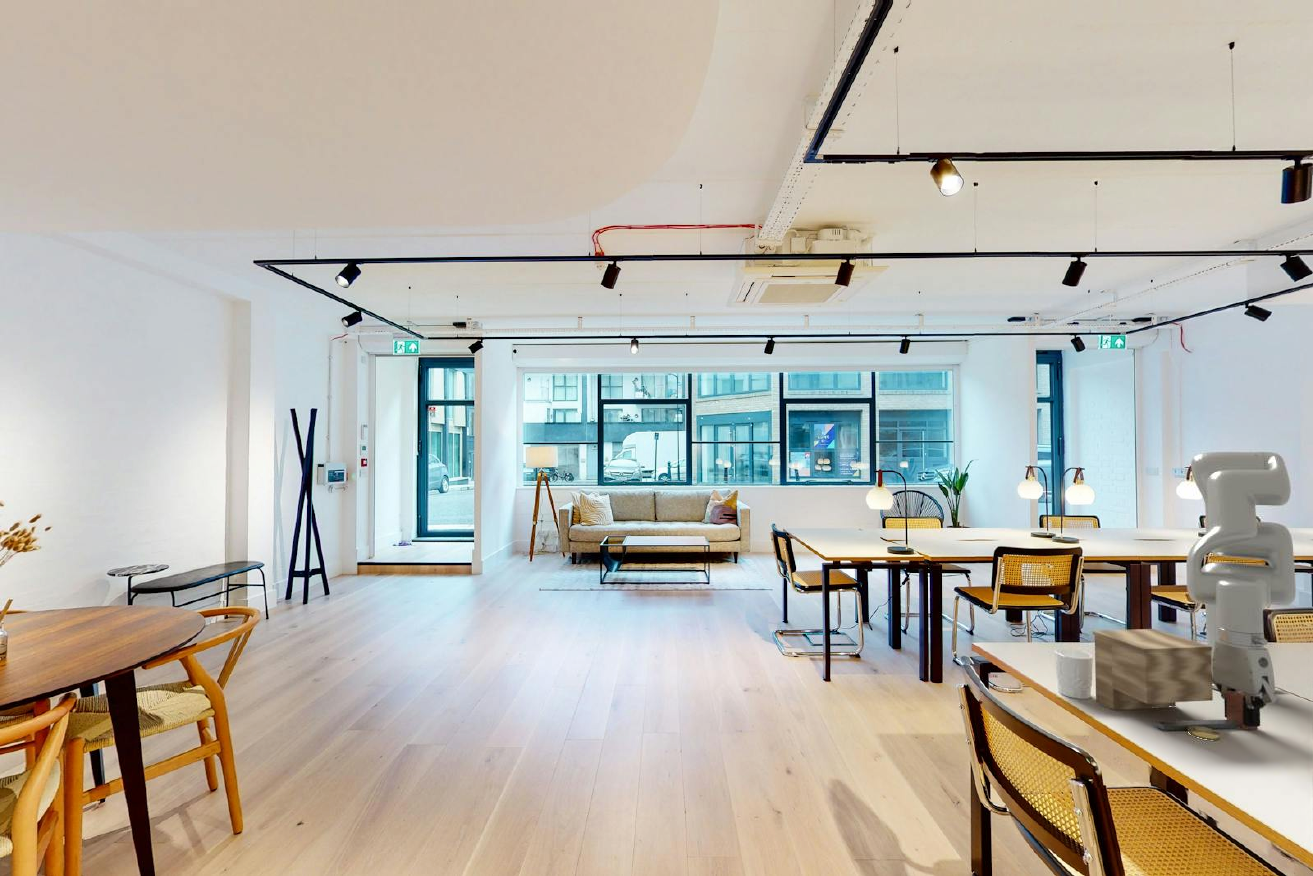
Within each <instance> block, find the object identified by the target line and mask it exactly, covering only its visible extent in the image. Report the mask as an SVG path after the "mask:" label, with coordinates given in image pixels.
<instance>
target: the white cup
mask: <svg viewBox="0 0 1313 876" xmlns="http://www.w3.org/2000/svg"><path fill="white" fill-rule="evenodd" d="M1054 655H1055V656H1054V659H1055V671H1056V680H1057V689H1058V693H1060V694H1061V695H1063V696H1065V697H1068V698H1072V699H1079V700H1087V699H1091V697H1092V687H1093V686H1092V685H1093V684H1092V683H1093V669H1094V668H1093V666H1094V665H1093V663H1094V661H1093V660H1094V656H1093V655H1092V654H1091V653H1089V652H1086V651H1083V650H1078V649H1073V648H1057V649H1055V650H1054Z"/></svg>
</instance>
